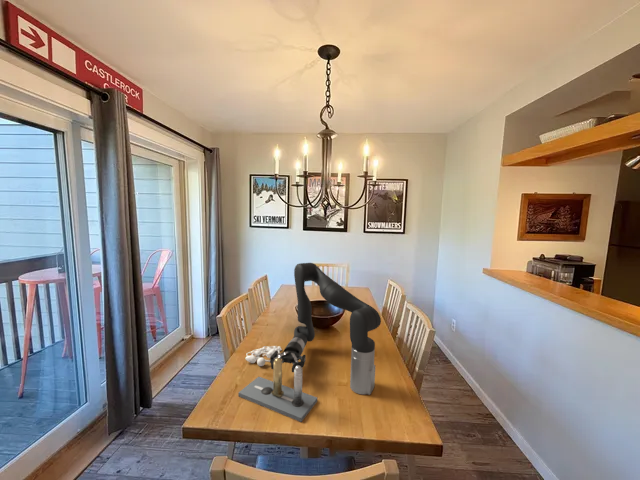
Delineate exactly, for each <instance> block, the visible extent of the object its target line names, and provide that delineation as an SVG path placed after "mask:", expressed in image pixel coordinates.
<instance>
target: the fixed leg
mask: <svg viewBox="0 0 640 480" xmlns="http://www.w3.org/2000/svg"><path fill="white" fill-rule="evenodd" d="M293 389H294V404H295V405H301V404H302V392H303V368H302V367H301V366H299V365H298V366H296V367H295V369H294V372H293Z"/></svg>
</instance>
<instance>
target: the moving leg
mask: <svg viewBox="0 0 640 480" xmlns="http://www.w3.org/2000/svg"><path fill="white" fill-rule="evenodd" d="M272 371H273V377H272V378H273V380H272V381H273V391H272V392H271V394H272V395H275V396H277V397H281V396H282V395H283V394H284V391H282V385H283V363H282V359H280V358H276V359H275V361H274V362H273V369H272Z"/></svg>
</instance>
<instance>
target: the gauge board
mask: <svg viewBox="0 0 640 480" xmlns="http://www.w3.org/2000/svg"><path fill="white" fill-rule="evenodd" d="M272 391H273V380H270V379H267V378H263V377H261V376H257V377H256V378H255V379H253V380H252V381H250V382H249V384H247V385H246V386H244V388H242V389H241V390H240V391H238V395H237V396H238V397H239V398H241V399H244V400H246V401H248V402H251V403H254V404H256V405H258V406H261V407H264V408H265V409H269V410H270V411H273V412H276V413H278V414H281V415H283V416H285V417H287V418H290V419H293V420H295V421H297V422H300V423H302V422H303V420H304V419H305V418H306V417H307V415H308V414H309V413H310V412H311V411H312V409H313V407H314V406H315V405H316V404H317V402H318V400H319V399H318V397H317V396H314V395H312V394H308V393H306V392H303V391H302V404H301V405H295V404H294V388H292V387H289V386H287V385H283V384H282V391H284V394H283V395H282V396H281V397H277V396H275V395H272V394H271V392H272Z"/></svg>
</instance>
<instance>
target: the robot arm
mask: <svg viewBox="0 0 640 480" xmlns="http://www.w3.org/2000/svg"><path fill="white" fill-rule="evenodd" d="M293 271H294V272H293V274H294V275H293V276H294V277H293V278H294V284H295V291H296V299H297V321H298V323H301V324H304V325H305V326H303V325H299V326H296V327H295V328H294V331H293V337H292V338H291V340H290V341H289V342H288V344H287V345H286V346H285V348H284V349H283V351H282V352H280V353H278V351H275V352H274V353H273V355H272V356H271V357H270V358H269V360H270V362H269V363H270V368H271V370H273V362H274V361H275V359H276V358H280V359H281V360H282V364H284V363H287V364H292V366H291V373H294V369H295V367H296V366H298V365H299V366H301V367H302V369H304V365H305V363H306V358H307V357H306V354H303V352H304V350H305V347H307V346H306V345H307V344H308V342H313V341H314V339H315V336H316V332H315V328H314V324H313V321H312V319H313V318H312V311H313V310H312V303H311V300H310V298H309V296H308V295H307V293H306V288H305V283H306V282H314V283H315V284H316V285H317V286H319V287H318V289H319V294H320V295H321V297H322V298H323V299H324V300H325V301H326V302H327V303H329V304H330V305H331V306H333V307H336V308H338V309H341V310H344V311H347V312H350V313H351V314H350V317H349V337H350V338H349V339H350V342H351V351H350V352H351V353H350V357H351V358H350V380H349V382H350V385H349V386H350V390H351V391H353V392H354V393H355V394H358V395H368V396H369V395H370V396H371V394H372V392H373V390H374V388H375V382H376V381H375V379H376V364H375V354H376V353H375V352H376V351H375V349H376V343H375V340H374V339H373V338H371V337H369V336H368V335H369V332H371V331H373V330H376V329H378V328H379V327H380V325H381V324H382V323H381V322H382V319H381V315H380V313H379V312H378V311H377V309H376V308H374V307H373V306H372V305H369V304H368V303H366V302H364V301H363V300H361V299H359V298H358V297H357V296H355V295H354V294H352V293H351V292H350V291H348V290H347V289H345V288H344V287H343V286H342V285H340V284H339V283H338V282H336V280H333V279H332V278H331V277H330V276H328V275H327V274H326V273H325V272H323V270H321V269H320V267H318V265H316V264H315V263H313V262H301V263H297V264H296V265H295V267H294V270H293ZM302 354H303V355H302Z"/></svg>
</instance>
